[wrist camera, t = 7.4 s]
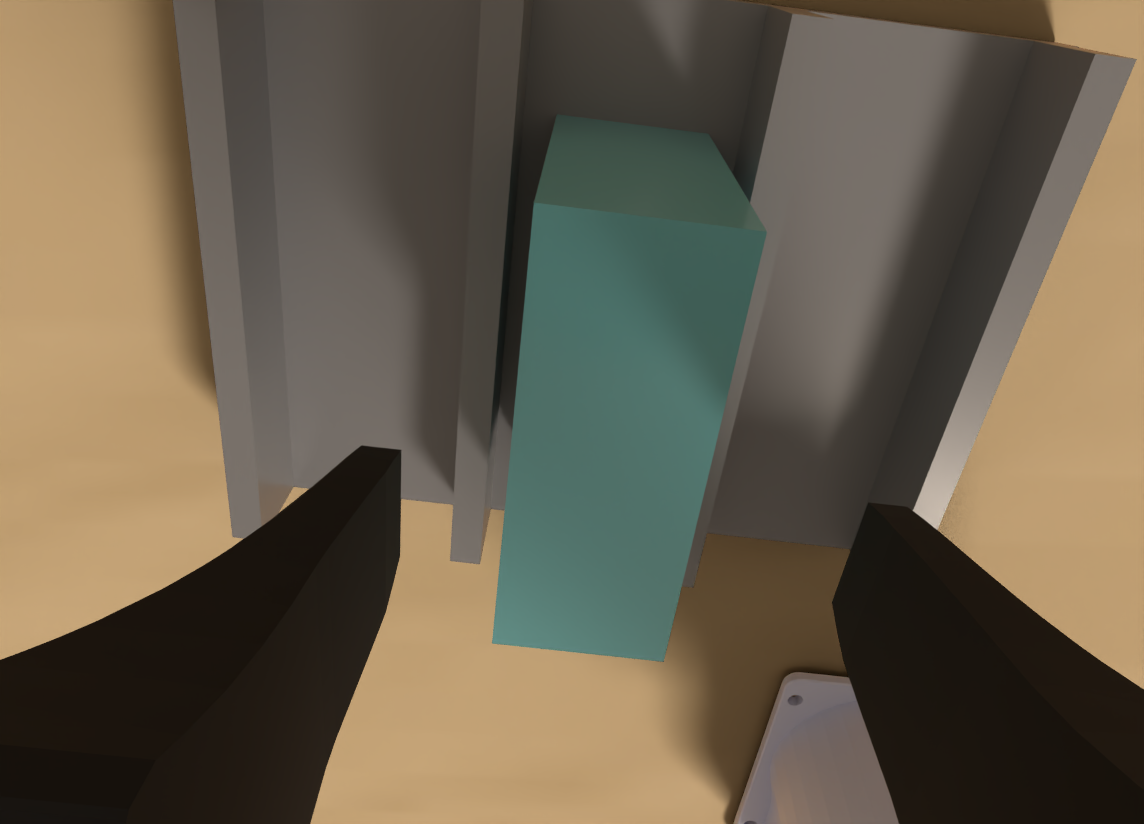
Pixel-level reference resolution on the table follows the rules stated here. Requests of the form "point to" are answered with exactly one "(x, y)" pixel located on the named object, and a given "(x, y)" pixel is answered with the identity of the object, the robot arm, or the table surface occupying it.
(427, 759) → the table surface
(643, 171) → the tall teal block
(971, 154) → the rack
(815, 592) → the table surface
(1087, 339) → the table surface
